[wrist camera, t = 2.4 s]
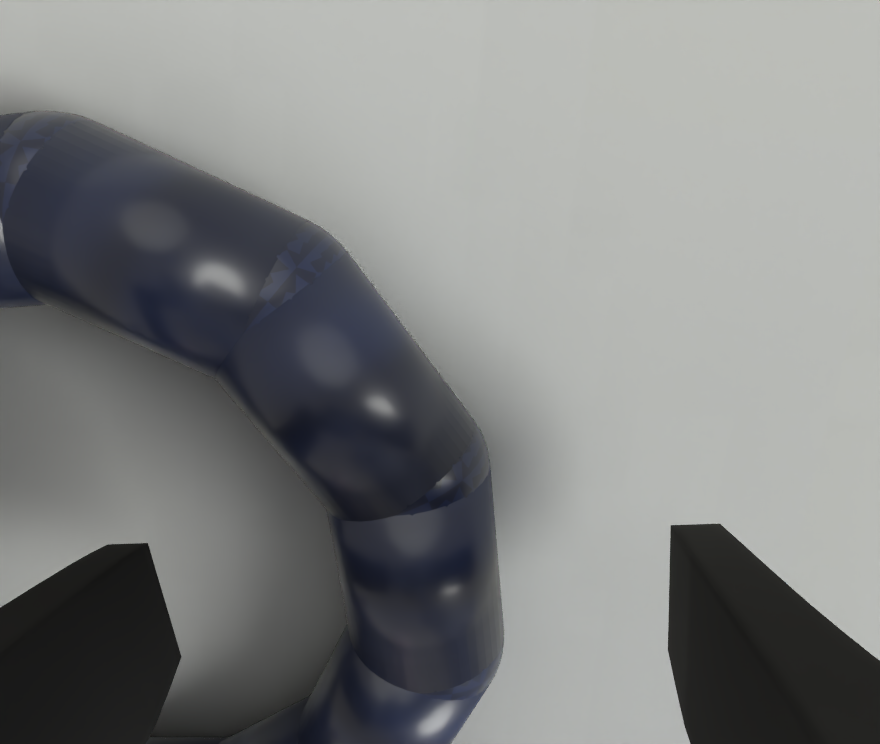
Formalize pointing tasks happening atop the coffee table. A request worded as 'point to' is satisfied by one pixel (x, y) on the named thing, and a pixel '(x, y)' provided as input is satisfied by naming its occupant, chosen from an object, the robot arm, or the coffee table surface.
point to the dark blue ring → (284, 405)
